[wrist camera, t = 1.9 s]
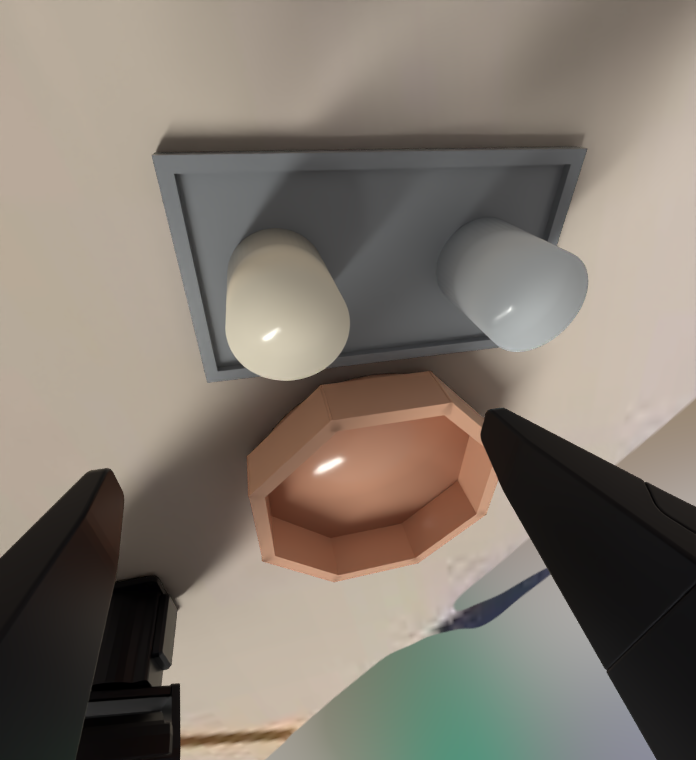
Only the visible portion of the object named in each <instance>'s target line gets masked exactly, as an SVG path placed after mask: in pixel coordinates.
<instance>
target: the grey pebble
mask: <svg viewBox="0 0 696 760" xmlns="http://www.w3.org/2000/svg"><path fill="white" fill-rule="evenodd" d="M436 274H437V282H438V285H439V287H440V289H441V291H442V293H443V294H444V295H445V296H446V297H447V298H448V299H449V300H450V301H451V302H452V303H453V304H454V305H455V306H456V307H458V308H459V309H460V310H461V311H462V312H463V313H464V314H465V315H466V316H467V317H468V318H469V319H470V320H471V321H472V322H473V323H474V324H475V325H476V326H477V327H478V328H479V329H480V330H481V331H483V332H484V333H485V334H486V335H487V336H488V337H489V338H490V339H491V340H492V341H493V342H494V343H495V344H496V345H497V346H499V347H500V348H502V349H504V350H507V351H512V352H523V351H528V350H532V349H535V348H538V347H540V346H542V345H544V344H546V343H548V342H549V341H551V340H552V339H554V338H555V337H556V336H558V335H559V334H560V333H561V332H562V331H564V330H565V329H566V328H567V326H568V325H569V324H570V323H571V322H572V321H573V319H574V318H575V317H576V315H577V314H578V312H579V310H580V308H581V307H582V304H583V302H584V300H585V297H586V293H587V289H588V274H587V270H586V267H585V265H584V263H583V262H582V261H581V260H580V259H579V258H578V257H577V256H576V255H574V254H572V253H570V252H568V251H566V250H564V249H562V248H560V247H558V246H555V245H553V244H551V243H549V242H547V241H545V240H543V239H541V238H539V237H537V236H534V235H532V234H530V233H528V232H526V231H524V230H522V229H520V228H518V227H516V226H513V225H511V224H509V223H507V222H505V221H503V220H500V219H498V218H493V217H485V218H479V219H476V220H473V221H471V222H469V223H467V224H465V225H464V226H462V227H461V228H459V229H458V230H457V231H456V232H455V233H454V234H453V235H452V236H451V237H450V238H449V240H448V241H447V242H446V244H445V246H444V247H443V249H442V251H441V254H440V256H439V259H438V263H437V271H436Z"/></svg>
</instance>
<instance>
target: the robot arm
mask: <svg viewBox="0 0 696 760" xmlns="http://www.w3.org/2000/svg"><path fill="white" fill-rule="evenodd" d="M480 437H481V441H482V444H483V446H484V448H485V451H486V453H487V455H488V457H489V460H490V462H491V464H492V467H493V469H494V471H495V473H496V476H497V478H498V480H499V483H500V485H501V487H502V489H503V491H504V493H505V495H506V497H507V498H508V500H509V502H510V504H511V505H512V507H513V509H514V511H515V512H516V514H517V516H518V518H519V519H520V521H521V523H522V525H523V526H524V528H525V530H526V532H527V533H528V535H529V537H530V539H531V540H532V542H533V544H534V546H535V547H536V549H537V551H538V553H539V554H540V556H541V558H542V560H543V561H544V563H545V565H546V567H547V568H548V570H549V572H550V574H551V575H552V577H553V579H554V581H555V582H556V584H557V586H558V587H559V589H560V591H561V593H562V595H563V596H564V598H565V600H566V602H567V603H568V605H569V607H570V609H571V610H572V612H573V614H574V616H575V617H576V619H577V621H578V623H579V624H580V626H581V628H582V629H583V631H584V633H585V635H586V637H587V638H588V640H589V642H590V643H591V645H592V647H593V649H594V650H595V652H596V654H597V656H598V658H599V659H600V661H601V663H602V664H603V666H604V668H605V669H606V670H607V673H608V675H609V677H610V679H611V681H612V682H613V684H614V686H615V688H616V689H617V691H618V693H619V695H620V696H621V698H622V700H623V702H624V703H625V705H626V707H627V709H628V710H629V712H630V714H631V715H632V717H633V719H634V721H635V722H636V724H637V726H638V728H639V730H640V731H641V733H642V735H643V737H644V738H645V740H646V742H647V743H648V745H649V747H650V749H651V750H652V752H653V754H654V756H655V758H656V759H657V760H696V507H695V506H693V505H691V504H689V503H687V502H685V501H683V500H681V499H679V498H677V497H675V496H673V495H671V494H669V493H667V492H665V491H663V490H661V489H659V488H657V487H656V486H654V485H652V484H650V483H648V482H645V483H644V481H643V480H642V479H640V478H638V477H636V476H634V475H632V474H630V473H628V472H627V471H625V470H623V469H620V468H619V467H617V466H615V465H613V464H611V463H609V462H607V461H605V460H603V459H602V458H600V457H598V456H596V455H594V454H592V453H590V452H588V451H586V450H584V449H582V448H580V447H578V446H577V445H575V444H573V443H571V442H569V441H567V440H565V439H563V438H561V437H559V436H557V435H555V434H553V433H552V432H550V431H548V430H546V429H544V428H542V427H540V426H538V425H536V424H534V423H532V422H530V421H528V420H527V419H525V418H523V417H521V416H519V415H517V414H515V413H513V412H511V411H509V410H507V409H505V408H495V409H490V410H488V411H487V412H486V414H485V418H484V422H483V425H482V429H481V433H480ZM123 509H124V494H123V491H122V489H121V487H120V485H119V483H118V481H117V479H116V477H115V475H114V473H113V471H112V470H111V469H109V468H104V469H98V470H91V471H89V472H87V473H86V474H85V475H84V476H83V477H82V478H81V479H80V480H79V481H78V482H77V483H75V484H74V485H73V486H72V487H71V488H70V489H69V490H68V491H67V492H66V493H65V494H64V495H63V496H62V497H61V498H60V499H59V500H58V501H57V502H56V503H55V504H54V505H53V506H52V507H51V508H50V509H49V510H48V511H47V512H46V513H45V514H44V515H43V516H42V517H41V518H40V519H39V520H38V521H37V522H36V523H35V524H34V525H33V526H32V527H31V528H30V529H29V530H28V531H27V532H26V533H25V534H24V535H23V536H22V537H21V538H20V539H19V540H18V541H17V542H16V543H15V544H14V545H13V546H12V547H11V548H10V549H9V550H8V551H7V552H6V553H5V554H4V555H3V556H2V557H1V558H0V760H180V683H178V684H171V685H170V686H161V683H162V675H163V670H167V669H169V667H170V666H171V665H172V656H173V647H174V637H175V628H176V619H177V608H176V606H175V604H174V603H173V601H172V599H171V597H170V595H168V594H167V593H166V591H165V589H164V587H163V586H162V584H161V582H160V580H159V578H158V577H156V576H148V577H143V578H138V579H133V580H128V581H123V582H118V583H115V578H116V573H117V568H118V560H119V550H120V540H121V530H122V519H123Z"/></svg>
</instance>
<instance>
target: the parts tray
mask: <svg viewBox="0 0 696 760" xmlns="http://www.w3.org/2000/svg"><path fill="white" fill-rule="evenodd" d="M586 152H587V148H580V147H517V148H446V149H375V150H304V151H233V152H162V153H154V154H153V155H152V159H153V163H154V167H155V171H156V175H157V179H158V183H159V187H160V191H161V195H162V200H163V204H164V208H165V212H166V216H167V220H168V224H169V228H170V232H171V236H172V240H173V244H174V249H175V253H176V257H177V261H178V265H179V269H180V273H181V277H182V281H183V285H184V289H185V293H186V298H187V302H188V306H189V310H190V314H191V318H192V322H193V326H194V330H195V334H196V338H197V342H198V347H199V351H200V355H201V359H202V363H203V367H204V371H205V375H206V379H207V383H210V382H218V381H226V380H235V379H243V378H251V377H259V375H257V374H255V373H253V372H251V371H250V370H249V369H247V368H246V367H244V366H243V365H242V364H241V363H240V362H239V361H238V360H237V358H236V357H235V356H234V354H233V353H232V351H231V349H230V347H229V345H228V341H227V338H226V330H225V325H226V295H227V269H228V263H229V260H230V257H231V255H232V253H233V251H234V250H235V248H236V247H237V246H238V245H239V244H240V242H241V241H242V240H244V239H245V238H246V237H248V236H249V235H251V234H253V233H255V232H258V231H260V230H264V229H271V228H281V229H287V230H290V231H293V232H296V233H298V234H300V235H302V236H303V237H305V238H306V239H307V240H309V241H310V242H311V243H312V244H313V245H314V246H315V248H316V249H317V251H318V252H319V254H320V256H321V258H322V260H323V261H324V263H325V265H326V267H327V269H328V271H329V273H330V275H331V277H332V278H333V280H334V282H335V284H336V286H337V288H338V290H339V292H340V293H341V295H342V297H343V299H344V301H345V303H346V305H347V308H348V312H349V316H350V330H349V335H348V339H347V341H346V344H345V346H344V348H343V350H342V351H341V353H340V354H339V356H338V357H337V358H336V359H335V360H334V361H333V362H332V363H331V364H330V365H329V366H328V367H326V368H333V367H342V366H350V365H358V364H366V363H375V362H383V361H391V360H399V359H408V358H416V357H424V356H432V355H441V354H449V353H457V352H465V351H473V350H482V349H490V348H498V347H499V346H497V345H496V344H495V343H494V342H493V341H492V340H491V339H490V338H489V337H488V336H487V335H486V334H485V333H484V332H483V331H481V330H480V329H479V328H478V327H477V326H476V325H475V324H474V323H473V322H472V321H471V320H470V319H469V318H468V317H467V316H466V315H465V314H464V313H463V312H462V311H461V310H460V309H459V308H458V307H456V306H455V305H454V304H453V303H452V302H451V301H450V300H449V299H448V298H447V297H446V296H445V295H444V294H443V293H442V291H441V289H440V287H439V285H438V282H437V274H436V271H437V263H438V259H439V256H440V254H441V251H442V249H443V247H444V246H445V244H446V242H447V241H448V240H449V238H450V237H451V236H452V235H453V234H454V233H455V232H456V231H457V230H458V229H459V228H461V227H462V226H464V225H465V224H467V223H469V222H471V221H473V220H476V219H479V218H485V217H493V218H498V219H500V220H503V221H505V222H507V223H509V224H511V225H513V226H516V227H518V228H520V229H522V230H524V231H526V232H528V233H530V234H532V235H534V236H537V237H539V238H541V239H543V240H545V241H547V242H549V243H551V244H553V245H555V246H557V243H558V240H559V237H560V234H561V230H562V227H563V224H564V221H565V218H566V215H567V212H568V208H569V205H570V202H571V199H572V196H573V193H574V189H575V186H576V183H577V180H578V177H579V174H580V171H581V167H582V164H583V161H584V158H585V155H586Z"/></svg>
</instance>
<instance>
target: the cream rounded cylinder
mask: <svg viewBox="0 0 696 760" xmlns="http://www.w3.org/2000/svg"><path fill="white" fill-rule="evenodd" d="M225 330H226V338H227V341H228V345H229V347H230V349H231V351H232V353H233V354H234V356H235V357H236V358H237V360H238V361H239V362H240V363H241V364H242V365H243V366H244V367H246V368H247V369H249V370H250V371H251V372H253V373H255V374H257V375H259V376H262V377H265V378H269V379H273V380H281V381H290V380H298V379H303V378H306V377H309V376H312V375H314V374H316V373H318V372H320V371H322V370H323V369H325V368H326V367H328V366H329V365H330V364H331V363H332V362H333V361H334V360H335V359H336V358H337V357H338V356H339V354H340V353H341V351H342V350H343V348H344V346H345V344H346V341H347V339H348V335H349V330H350V316H349V312H348V308H347V305H346V303H345V301H344V299H343V297H342V295H341V293H340V292H339V290H338V288H337V286H336V284H335V282H334V280H333V278H332V277H331V275H330V273H329V271H328V269H327V267H326V265H325V263H324V261H323V260H322V258H321V256H320V254H319V252H318V251H317V249H316V248H315V246H314V245H313V244H312V243H311V242H310V241H309V240H307V239H306V238H305V237H303V236H302V235H300V234H298V233H296V232H293V231H290V230H287V229H281V228H271V229H264V230H260V231H258V232H255V233H253V234H251V235H249V236H248V237H246V238H245V239H244V240H242V241H241V242H240V244H239V245H238V246H237V247H236V248H235V250H234V251H233V253H232V255H231V257H230V260H229V263H228V269H227V295H226V325H225Z"/></svg>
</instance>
